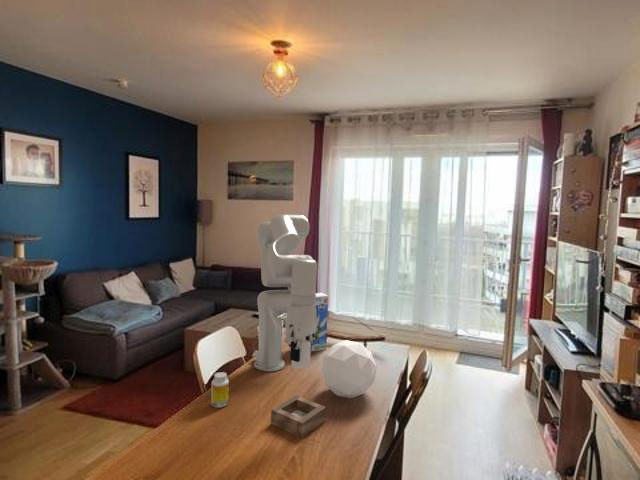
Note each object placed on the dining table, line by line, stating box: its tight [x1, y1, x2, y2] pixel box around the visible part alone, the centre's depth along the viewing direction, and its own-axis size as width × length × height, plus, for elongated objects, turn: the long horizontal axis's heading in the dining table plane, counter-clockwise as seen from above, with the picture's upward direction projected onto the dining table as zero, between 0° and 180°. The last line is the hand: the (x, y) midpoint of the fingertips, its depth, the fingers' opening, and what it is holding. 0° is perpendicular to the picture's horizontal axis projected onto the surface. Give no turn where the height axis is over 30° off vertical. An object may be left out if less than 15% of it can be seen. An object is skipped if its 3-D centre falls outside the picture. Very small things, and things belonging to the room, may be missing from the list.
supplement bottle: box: [210, 371, 230, 409], centre depth 132 cm, size 6×6×10 cm
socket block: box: [270, 395, 327, 439], centre depth 123 cm, size 12×12×4 cm
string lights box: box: [311, 292, 329, 352], centre depth 186 cm, size 13×8×26 cm, turn 115°
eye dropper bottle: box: [291, 337, 312, 370], centre depth 121 cm, size 4×6×12 cm
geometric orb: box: [321, 339, 377, 399], centre depth 143 cm, size 19×20×20 cm
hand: (300, 357), depth 122 cm, fingers closed on eye dropper bottle, 5 cm apart
